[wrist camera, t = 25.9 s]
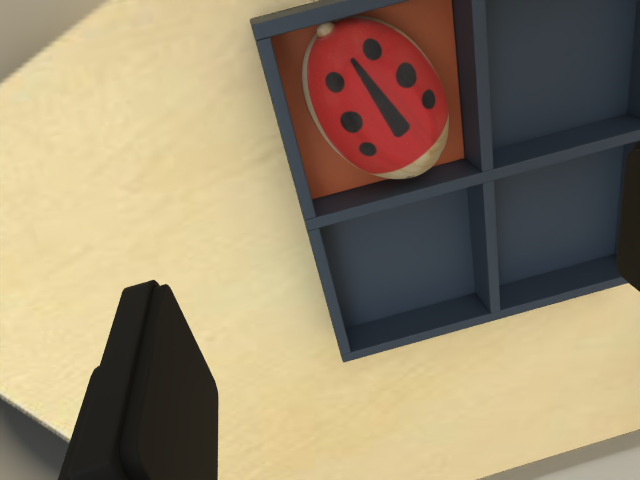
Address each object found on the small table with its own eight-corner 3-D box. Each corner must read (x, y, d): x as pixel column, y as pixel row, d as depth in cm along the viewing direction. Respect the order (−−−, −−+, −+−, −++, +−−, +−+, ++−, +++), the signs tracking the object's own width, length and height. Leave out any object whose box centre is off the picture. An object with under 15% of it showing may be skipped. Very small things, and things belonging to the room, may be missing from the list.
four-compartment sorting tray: (249, 18, 25) (251, 24, 22) (648, -86, 26) (697, -92, 23) (334, 333, 36) (343, 363, 33) (616, 255, 36) (647, 278, 34)
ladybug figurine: (380, 196, 30) (396, 222, 27) (264, 73, 26) (268, 87, 23) (468, 119, 29) (497, 137, 26) (362, -25, 24) (380, -24, 21)
